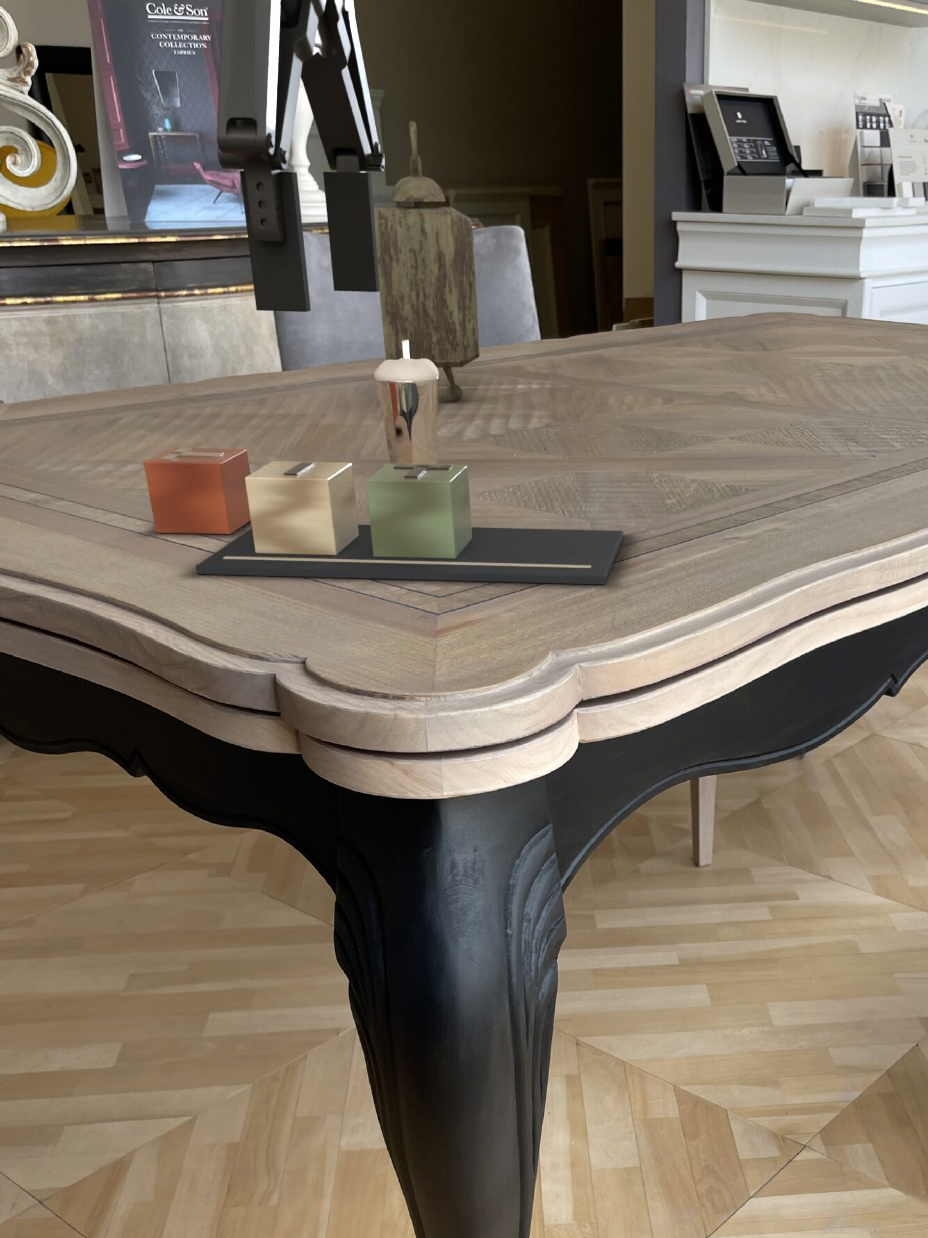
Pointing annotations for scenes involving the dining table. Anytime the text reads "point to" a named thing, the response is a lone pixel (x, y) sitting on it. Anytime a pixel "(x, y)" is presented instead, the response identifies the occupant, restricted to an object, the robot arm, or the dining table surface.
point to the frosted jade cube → (419, 510)
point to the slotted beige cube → (302, 507)
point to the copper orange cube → (199, 490)
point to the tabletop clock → (427, 276)
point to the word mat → (442, 559)
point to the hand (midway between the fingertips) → (323, 301)
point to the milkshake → (409, 408)
